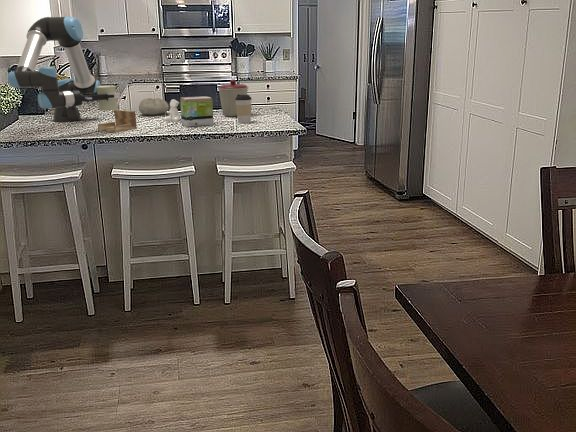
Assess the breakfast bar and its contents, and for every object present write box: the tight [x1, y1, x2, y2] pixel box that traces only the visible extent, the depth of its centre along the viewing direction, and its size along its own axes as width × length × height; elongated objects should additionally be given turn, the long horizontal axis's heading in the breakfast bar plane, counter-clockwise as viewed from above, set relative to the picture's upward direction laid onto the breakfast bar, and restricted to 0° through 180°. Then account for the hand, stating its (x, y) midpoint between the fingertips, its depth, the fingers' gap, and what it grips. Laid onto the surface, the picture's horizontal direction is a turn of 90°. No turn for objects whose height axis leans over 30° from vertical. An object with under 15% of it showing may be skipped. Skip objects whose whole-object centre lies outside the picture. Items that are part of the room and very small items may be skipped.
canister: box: [217, 78, 250, 118], centre depth 347 cm, size 18×18×21 cm
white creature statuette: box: [162, 98, 181, 123], centre depth 333 cm, size 10×9×12 cm
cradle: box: [97, 109, 138, 134], centre depth 308 cm, size 14×14×9 cm
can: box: [97, 84, 119, 111], centre depth 302 cm, size 9×9×12 cm
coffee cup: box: [235, 94, 252, 124], centre depth 323 cm, size 9×9×15 cm
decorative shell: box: [138, 97, 170, 116], centre depth 358 cm, size 18×18×10 cm
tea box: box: [179, 95, 214, 128], centre depth 318 cm, size 15×10×15 cm
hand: (115, 94), depth 304 cm, fingers closed on can, 9 cm apart
